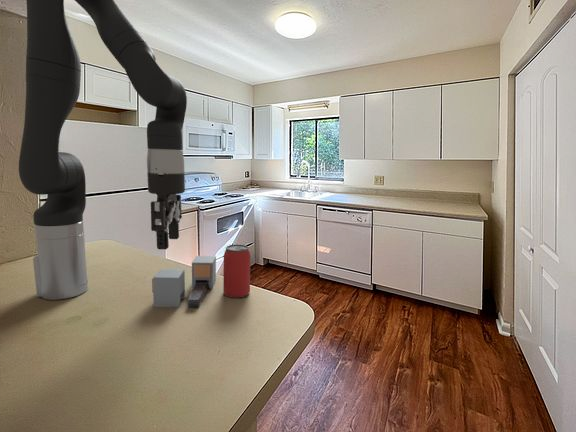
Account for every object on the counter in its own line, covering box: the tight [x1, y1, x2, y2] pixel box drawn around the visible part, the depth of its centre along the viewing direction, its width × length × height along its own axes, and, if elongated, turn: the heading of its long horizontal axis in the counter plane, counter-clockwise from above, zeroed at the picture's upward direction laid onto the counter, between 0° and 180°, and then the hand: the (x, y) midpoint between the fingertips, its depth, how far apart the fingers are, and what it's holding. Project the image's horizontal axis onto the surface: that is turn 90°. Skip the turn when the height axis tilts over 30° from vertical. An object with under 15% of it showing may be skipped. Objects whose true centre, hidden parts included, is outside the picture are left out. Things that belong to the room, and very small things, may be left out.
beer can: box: [222, 244, 252, 299], centre depth 79 cm, size 7×7×12 cm
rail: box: [187, 280, 209, 309], centre depth 79 cm, size 2×16×2 cm, turn 5°
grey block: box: [151, 268, 186, 308], centre depth 73 cm, size 5×6×7 cm
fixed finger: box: [191, 255, 217, 290], centre depth 84 cm, size 5×6×7 cm
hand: (168, 243), depth 71 cm, fingers open, 8 cm apart
